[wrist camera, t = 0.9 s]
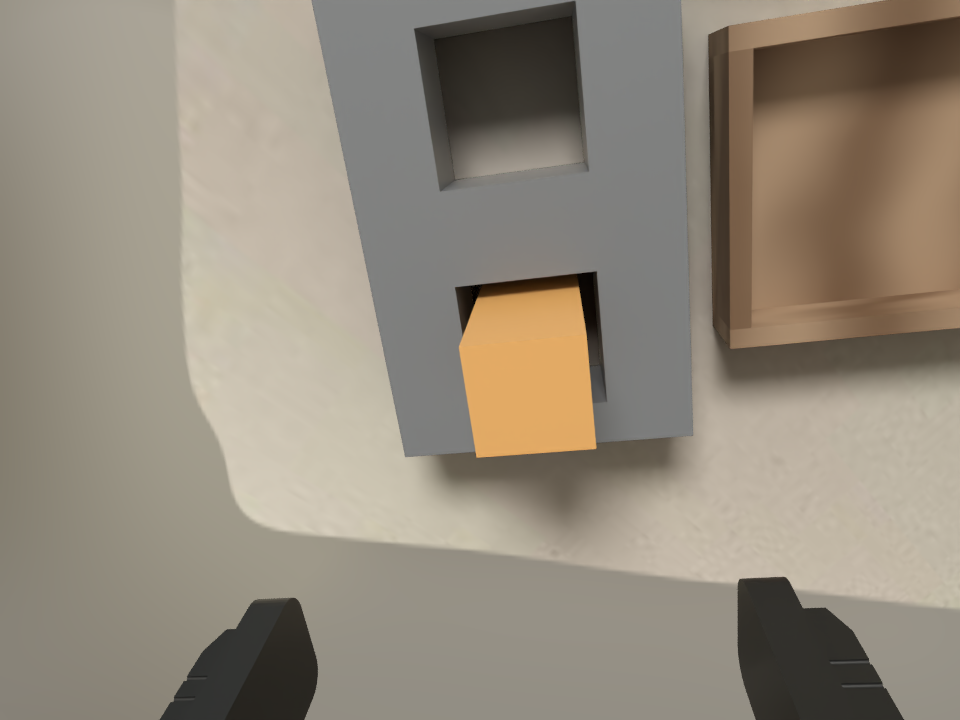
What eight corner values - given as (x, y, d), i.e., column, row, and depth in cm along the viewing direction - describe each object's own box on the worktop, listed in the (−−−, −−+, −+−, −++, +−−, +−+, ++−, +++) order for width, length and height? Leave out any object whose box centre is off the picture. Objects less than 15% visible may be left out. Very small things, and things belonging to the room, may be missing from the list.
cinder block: (658, -55, 24) (678, -84, 20) (675, 394, 30) (692, 435, 26) (344, 2, 25) (308, -15, 22) (422, 415, 32) (405, 457, 28)
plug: (575, 266, 28) (586, 334, 20) (583, 352, 30) (596, 448, 21) (485, 276, 29) (458, 347, 21) (496, 360, 30) (476, 457, 22)
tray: (1050, -21, 23) (1119, -37, 20) (1003, 296, 27) (1055, 319, 24) (708, 34, 25) (728, 25, 22) (712, 325, 29) (730, 349, 26)
